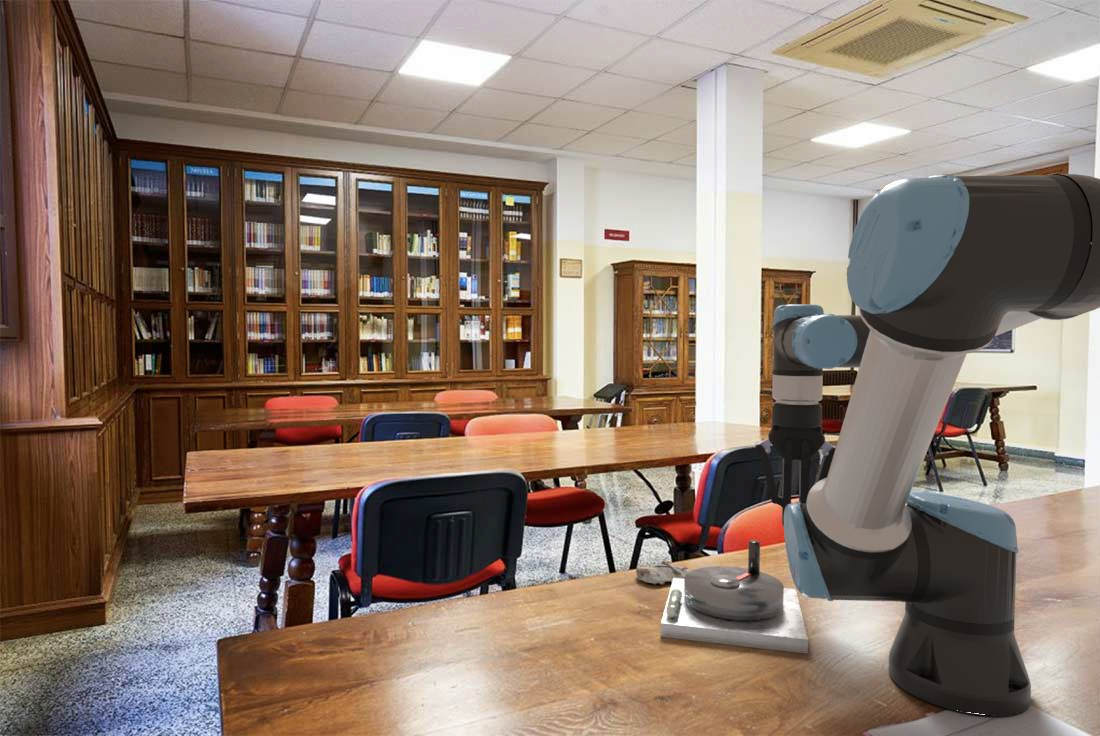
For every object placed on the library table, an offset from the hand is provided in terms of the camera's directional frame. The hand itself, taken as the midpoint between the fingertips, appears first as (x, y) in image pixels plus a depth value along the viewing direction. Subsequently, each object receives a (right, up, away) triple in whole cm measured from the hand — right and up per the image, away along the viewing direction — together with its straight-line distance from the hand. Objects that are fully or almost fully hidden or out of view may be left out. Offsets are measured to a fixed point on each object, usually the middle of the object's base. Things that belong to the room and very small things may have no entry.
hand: (794, 547), depth 109 cm
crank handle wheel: (-11, -8, -3) cm, 14 cm away
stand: (-11, -10, -4) cm, 15 cm away
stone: (-19, -10, +14) cm, 25 cm away
